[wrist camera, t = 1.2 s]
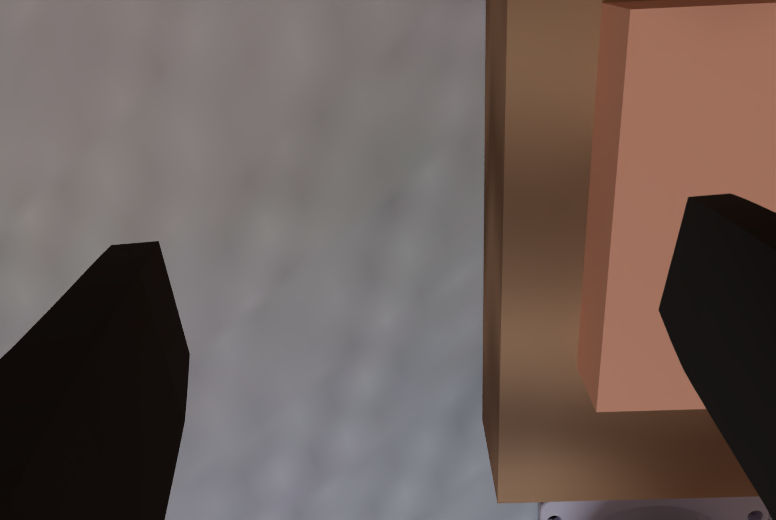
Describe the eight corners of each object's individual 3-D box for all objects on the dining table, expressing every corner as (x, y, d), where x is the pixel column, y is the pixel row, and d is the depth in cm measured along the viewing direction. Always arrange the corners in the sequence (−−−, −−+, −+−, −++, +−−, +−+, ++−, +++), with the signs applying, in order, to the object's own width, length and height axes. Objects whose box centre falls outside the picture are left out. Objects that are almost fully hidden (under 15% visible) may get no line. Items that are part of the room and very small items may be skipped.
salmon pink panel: (809, 359, 18) (855, 404, 17) (576, 366, 19) (596, 411, 17) (890, -11, 15) (960, -6, 13) (602, 2, 15) (630, 9, 13)
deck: (841, 409, 24) (923, 492, 20) (482, 419, 24) (497, 503, 20) (1001, -232, 17) (1172, -285, 13) (488, -203, 17) (512, -247, 13)
